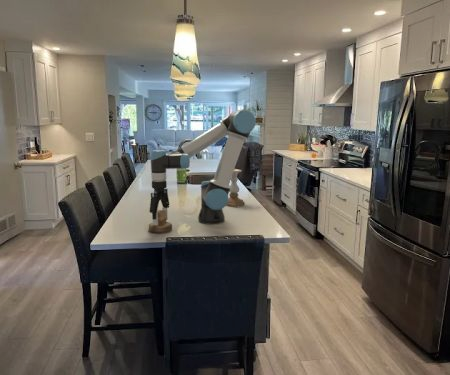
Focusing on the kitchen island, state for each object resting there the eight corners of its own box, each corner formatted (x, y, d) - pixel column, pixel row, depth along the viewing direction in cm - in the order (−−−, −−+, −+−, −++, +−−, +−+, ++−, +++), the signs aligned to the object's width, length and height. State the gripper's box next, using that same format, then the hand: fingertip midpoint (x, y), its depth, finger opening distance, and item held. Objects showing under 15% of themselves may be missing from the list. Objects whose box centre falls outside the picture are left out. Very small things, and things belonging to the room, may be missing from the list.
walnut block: (166, 223, 196) (166, 210, 194) (162, 226, 191) (161, 213, 190) (158, 222, 197) (157, 210, 196) (153, 225, 192) (153, 212, 191)
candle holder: (231, 202, 258) (232, 168, 254) (244, 204, 252) (245, 169, 248) (222, 205, 250) (222, 170, 245) (236, 207, 243) (236, 171, 239)
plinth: (175, 227, 198) (175, 222, 198) (165, 234, 187) (165, 228, 186) (155, 225, 202) (155, 220, 201) (144, 232, 191) (144, 226, 190)
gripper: (162, 176, 201) (163, 216, 205) (141, 183, 180) (142, 227, 184) (175, 177, 199) (176, 217, 203) (154, 184, 178) (156, 229, 182)
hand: (160, 222), depth 194 cm, fingers open, 10 cm apart
